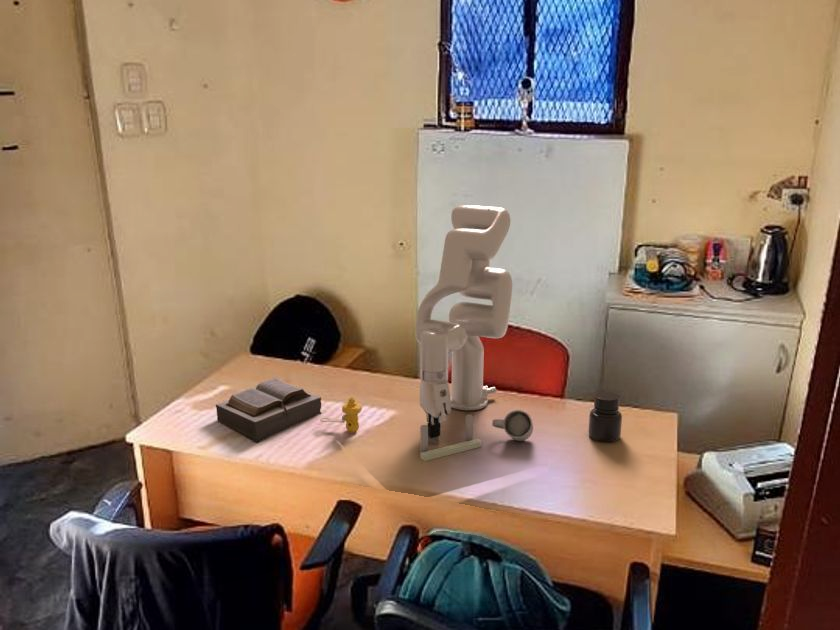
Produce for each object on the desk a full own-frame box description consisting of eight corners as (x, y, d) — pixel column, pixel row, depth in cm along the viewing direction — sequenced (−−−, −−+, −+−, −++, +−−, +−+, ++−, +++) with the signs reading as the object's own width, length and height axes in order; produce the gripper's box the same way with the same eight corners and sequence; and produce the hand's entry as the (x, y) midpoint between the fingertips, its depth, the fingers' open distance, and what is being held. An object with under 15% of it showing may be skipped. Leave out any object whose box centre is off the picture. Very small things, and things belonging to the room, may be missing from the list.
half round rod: (422, 446, 215) (422, 441, 215) (430, 417, 234) (430, 412, 233) (438, 447, 215) (438, 441, 214) (444, 418, 233) (445, 413, 233)
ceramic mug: (525, 446, 217) (539, 422, 218) (522, 443, 209) (537, 418, 210) (492, 427, 220) (506, 403, 221) (488, 423, 213) (502, 398, 214)
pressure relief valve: (358, 436, 220) (357, 403, 217) (317, 432, 222) (316, 399, 219) (363, 428, 225) (363, 395, 222) (323, 424, 227) (322, 392, 224)
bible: (330, 422, 229) (329, 391, 227) (244, 447, 214) (242, 413, 211) (292, 398, 247) (291, 368, 244) (210, 418, 232) (208, 387, 229)
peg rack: (473, 440, 217) (473, 413, 215) (481, 446, 213) (482, 419, 211) (415, 454, 209) (415, 426, 207) (423, 461, 205) (424, 433, 203)
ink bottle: (623, 431, 223) (626, 391, 219) (621, 444, 215) (624, 403, 211) (588, 426, 226) (590, 387, 222) (584, 439, 218) (587, 399, 214)
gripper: (460, 380, 208) (459, 443, 213) (432, 363, 221) (432, 423, 226) (435, 385, 205) (435, 449, 210) (409, 367, 217) (409, 428, 222)
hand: (433, 435), depth 218 cm, fingers closed
